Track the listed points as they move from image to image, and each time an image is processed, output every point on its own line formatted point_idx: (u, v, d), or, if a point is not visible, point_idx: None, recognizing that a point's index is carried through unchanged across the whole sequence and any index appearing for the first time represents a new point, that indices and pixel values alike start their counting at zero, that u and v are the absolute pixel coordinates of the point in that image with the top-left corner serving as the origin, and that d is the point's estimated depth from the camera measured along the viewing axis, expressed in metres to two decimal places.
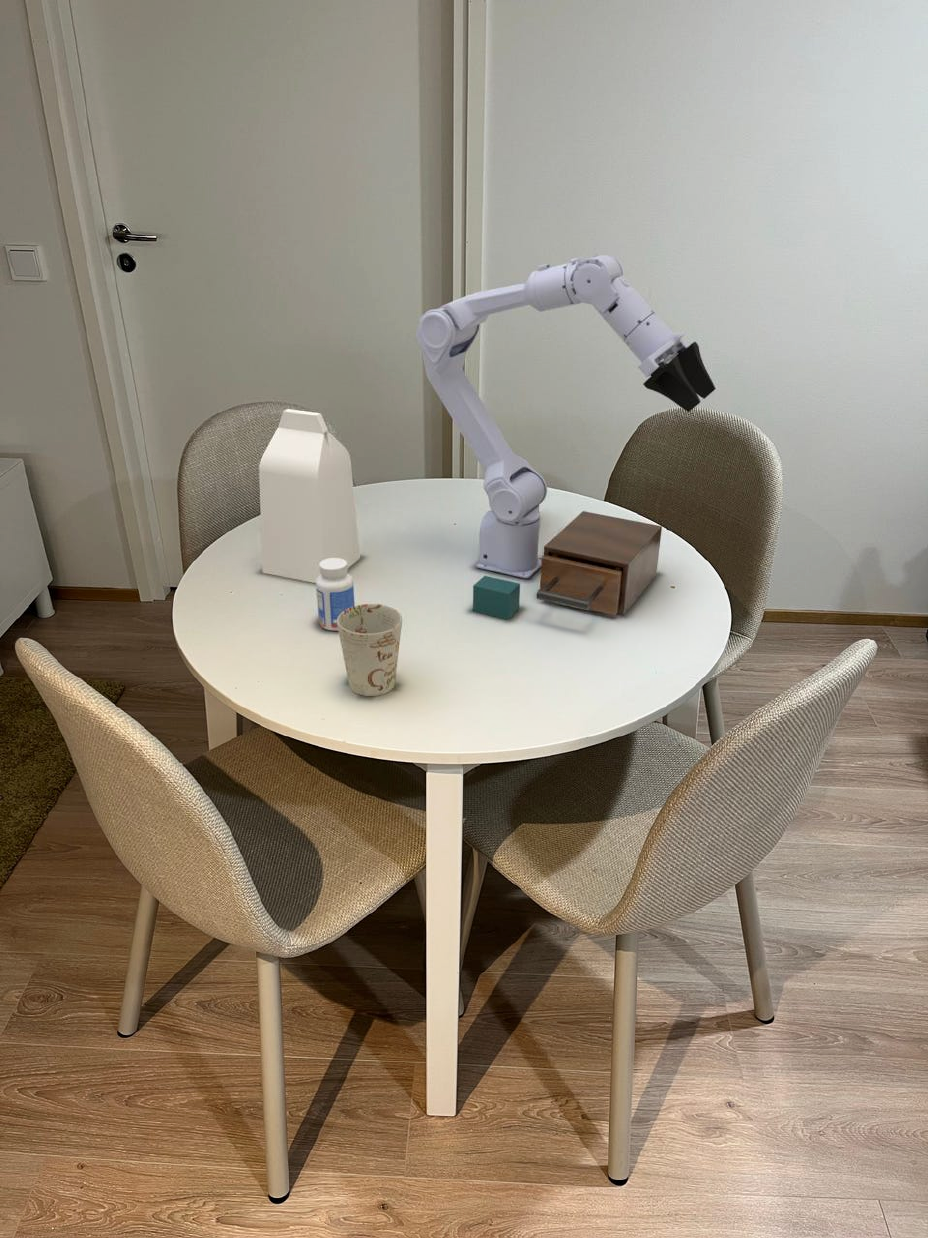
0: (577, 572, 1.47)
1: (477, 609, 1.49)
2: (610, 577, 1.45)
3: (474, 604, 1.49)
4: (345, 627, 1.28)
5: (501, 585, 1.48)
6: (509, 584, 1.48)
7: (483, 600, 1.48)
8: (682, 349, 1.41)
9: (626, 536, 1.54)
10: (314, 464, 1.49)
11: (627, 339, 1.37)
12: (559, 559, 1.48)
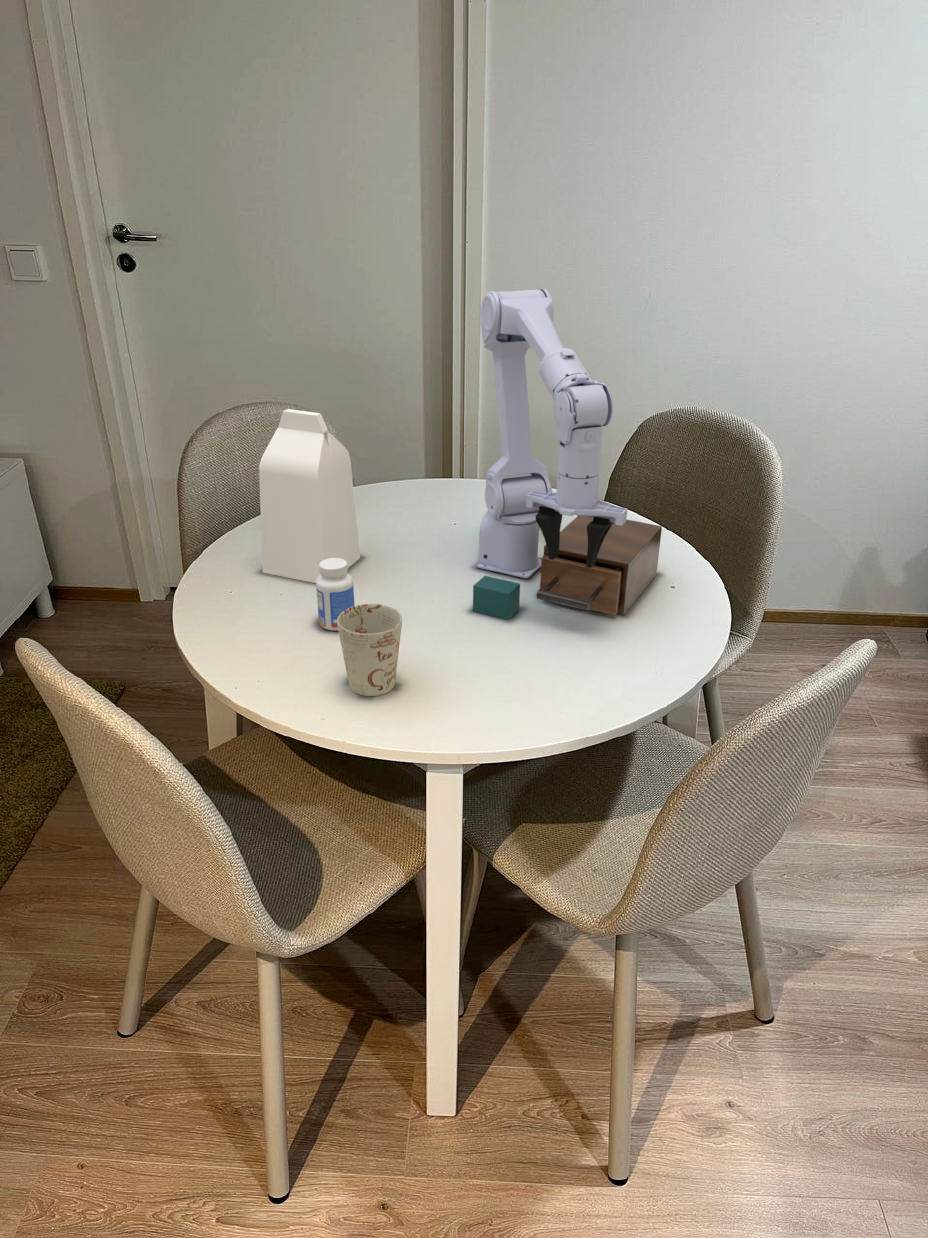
0: (577, 572, 1.47)
1: (477, 609, 1.49)
2: (610, 577, 1.45)
3: (474, 604, 1.49)
4: (345, 627, 1.28)
5: (501, 585, 1.48)
6: (509, 584, 1.48)
7: (483, 600, 1.48)
8: (605, 521, 1.36)
9: (626, 536, 1.54)
10: (314, 464, 1.49)
11: None
12: (559, 559, 1.48)
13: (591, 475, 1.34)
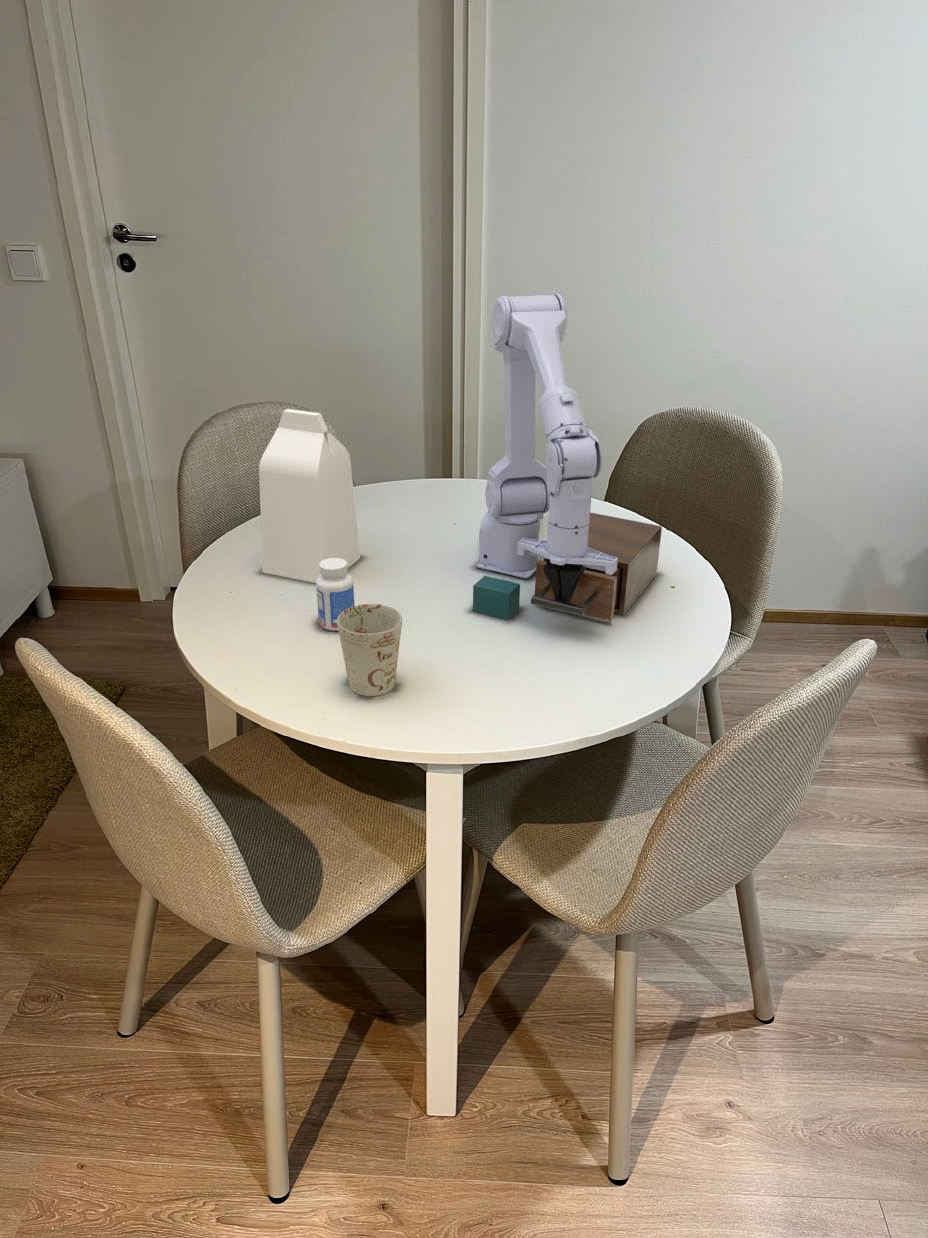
0: None
1: (477, 609, 1.49)
2: (606, 582, 1.43)
3: (474, 604, 1.49)
4: (345, 627, 1.28)
5: (501, 585, 1.48)
6: (509, 584, 1.48)
7: (483, 600, 1.48)
8: None
9: (626, 536, 1.54)
10: (314, 464, 1.49)
11: None
12: None
13: (580, 525, 1.35)
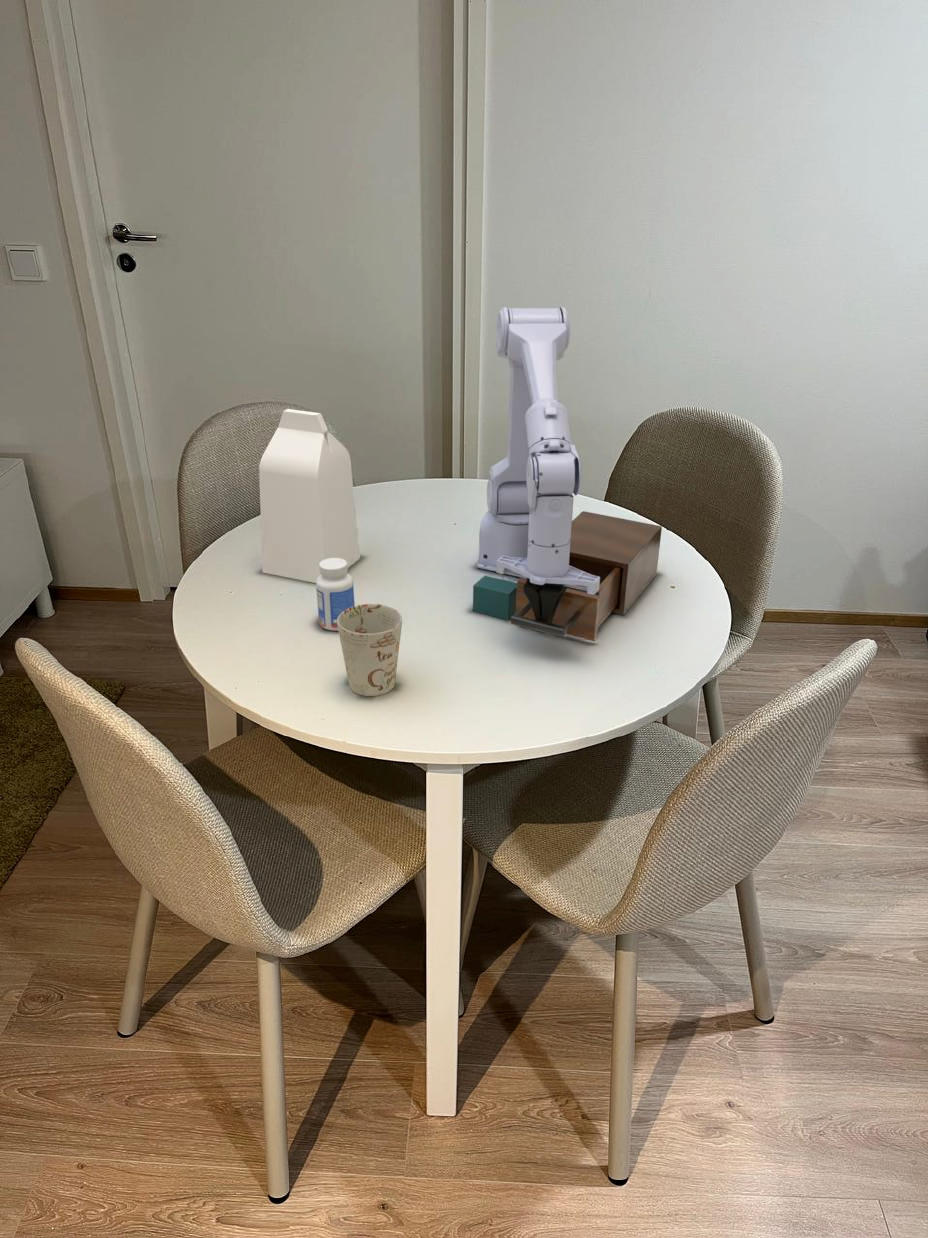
0: None
1: (477, 609, 1.49)
2: (588, 601, 1.38)
3: (474, 604, 1.49)
4: (345, 627, 1.28)
5: (501, 585, 1.48)
6: (509, 584, 1.48)
7: (483, 600, 1.48)
8: None
9: (626, 536, 1.54)
10: (314, 464, 1.49)
11: None
12: None
13: (557, 544, 1.29)
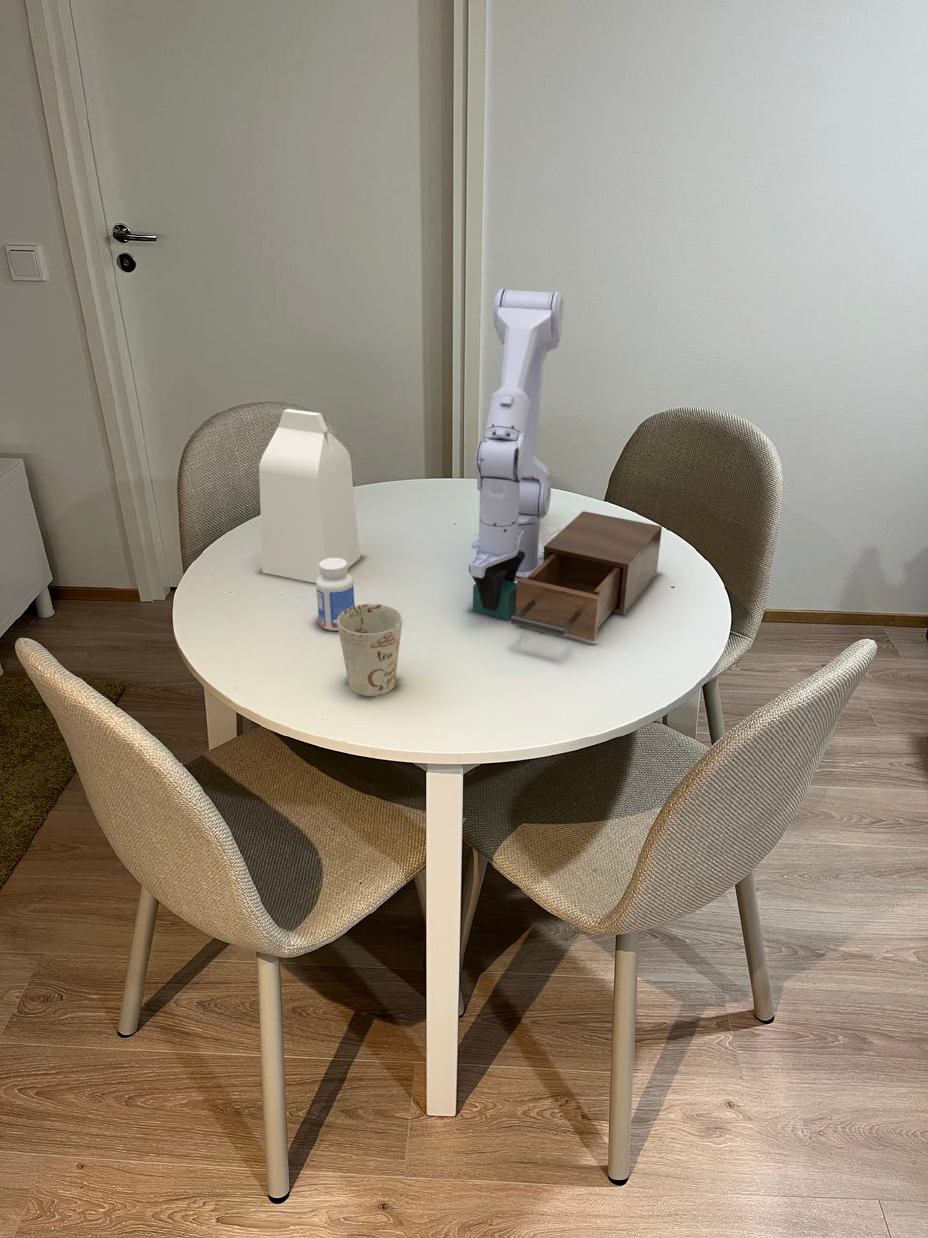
0: (554, 596, 1.40)
1: (477, 609, 1.49)
2: (588, 601, 1.38)
3: (474, 604, 1.49)
4: (345, 627, 1.28)
5: None
6: (509, 584, 1.48)
7: None
8: None
9: (626, 536, 1.54)
10: (314, 464, 1.49)
11: None
12: (535, 582, 1.41)
13: (499, 524, 1.40)
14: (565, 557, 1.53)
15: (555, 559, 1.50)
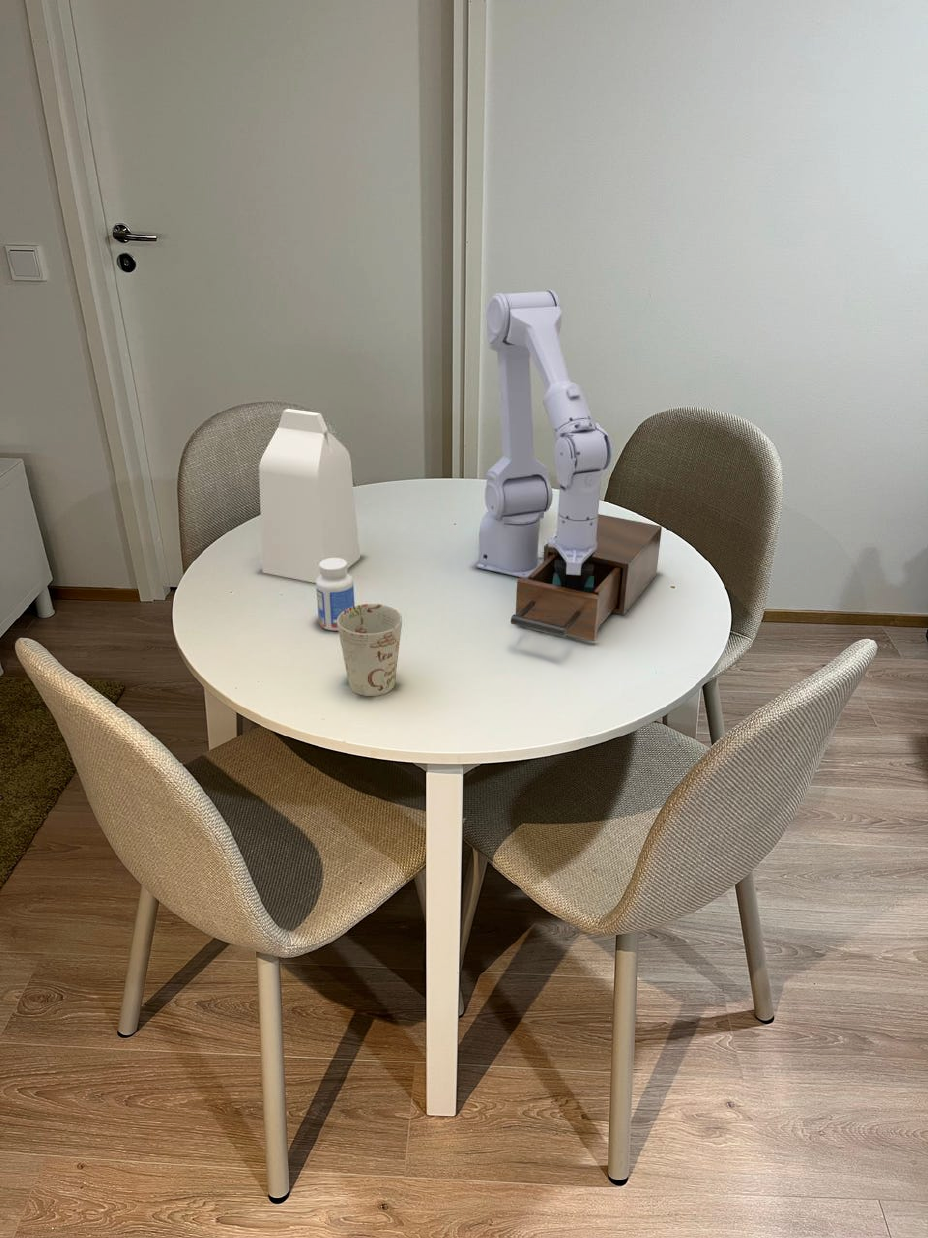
0: (554, 596, 1.40)
1: None
2: (588, 601, 1.38)
3: None
4: (345, 627, 1.28)
5: None
6: None
7: None
8: None
9: (626, 536, 1.54)
10: (314, 464, 1.49)
11: None
12: (535, 582, 1.41)
13: (591, 517, 1.38)
14: None
15: (555, 559, 1.50)
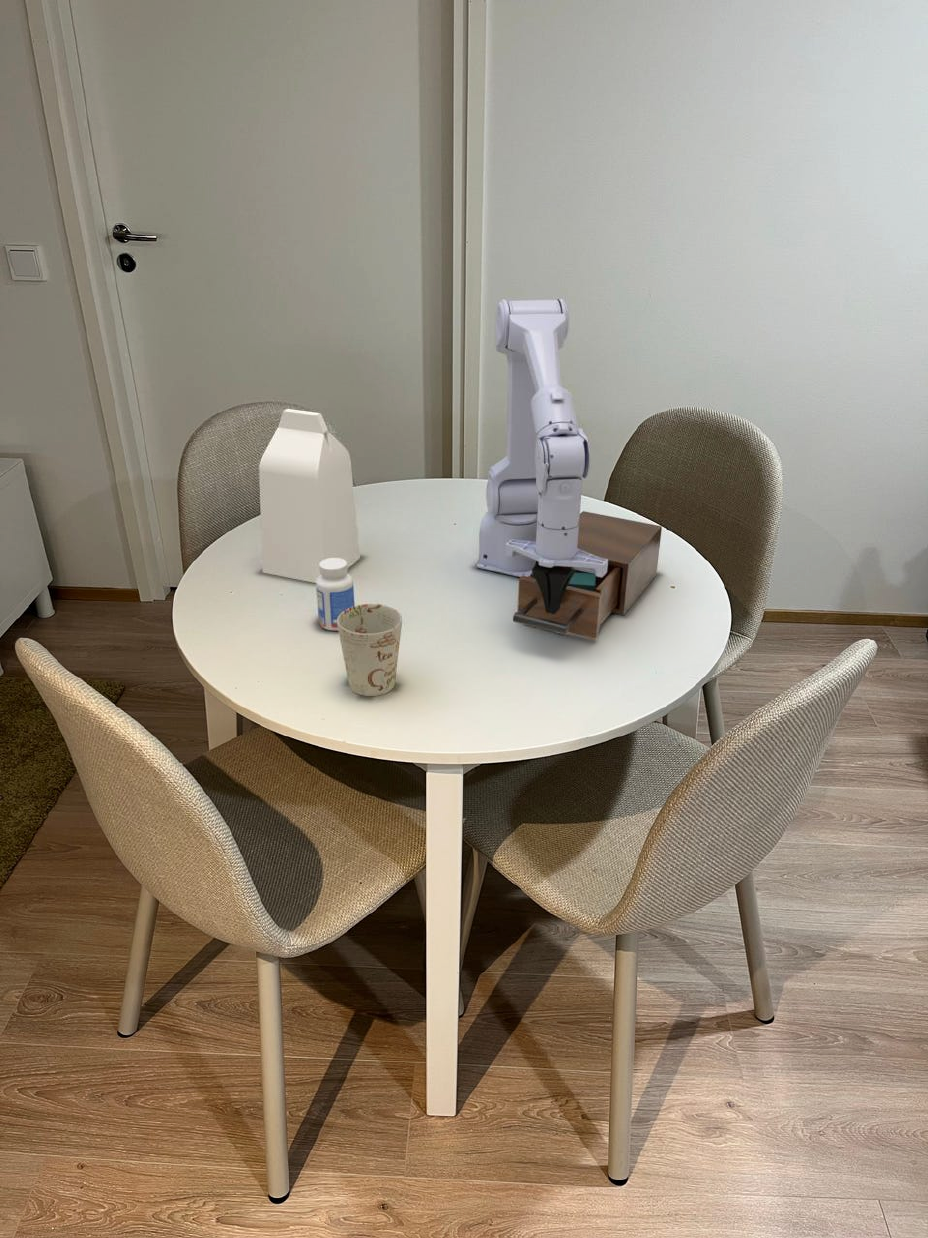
0: None
1: None
2: (590, 599, 1.38)
3: None
4: (345, 627, 1.28)
5: (580, 578, 1.45)
6: (586, 576, 1.46)
7: None
8: None
9: (626, 536, 1.54)
10: (314, 464, 1.49)
11: None
12: None
13: (567, 527, 1.31)
14: None
15: None
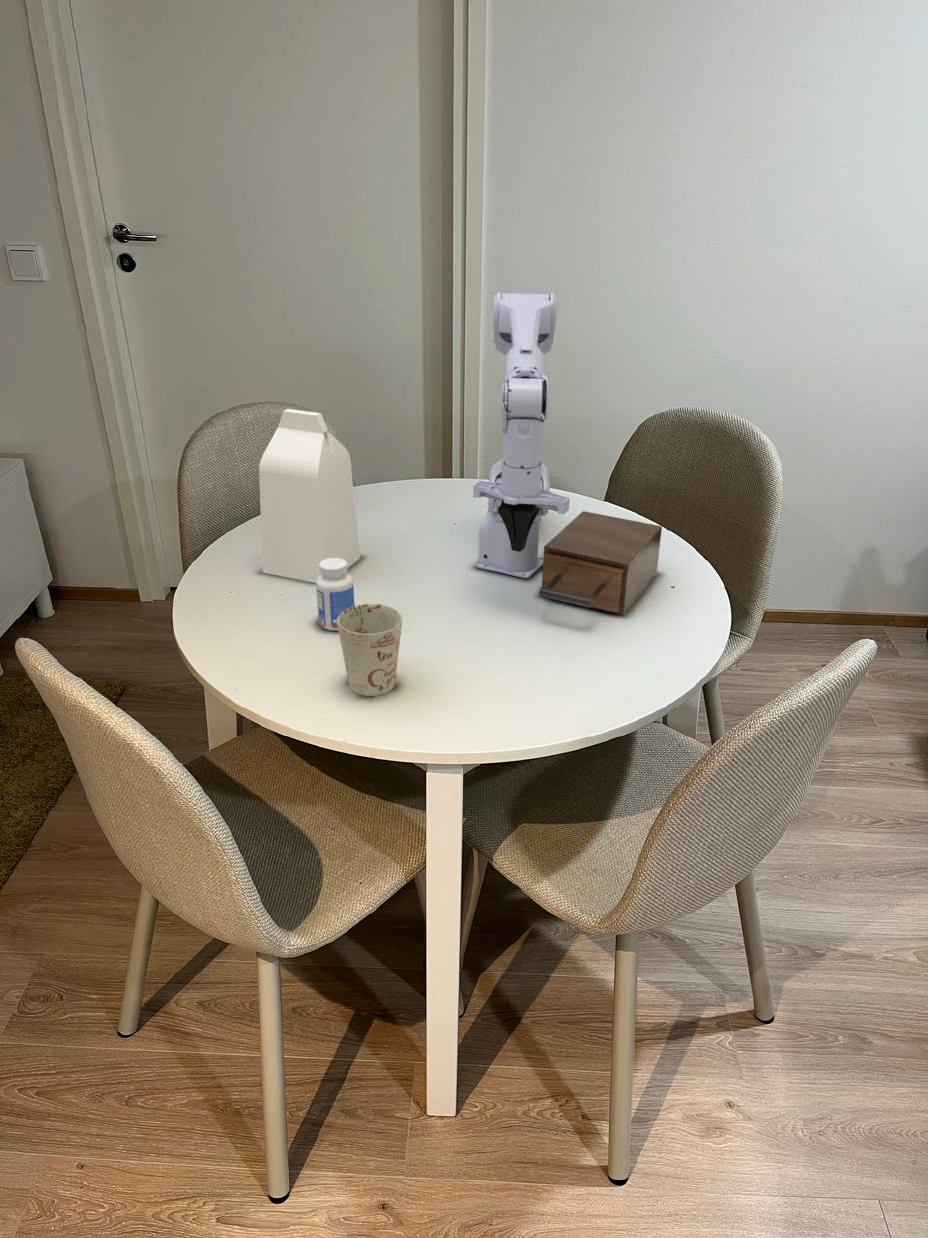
0: (579, 570, 1.48)
1: None
2: (613, 574, 1.45)
3: None
4: (345, 627, 1.28)
5: None
6: None
7: None
8: (548, 510, 1.41)
9: (626, 536, 1.54)
10: (314, 464, 1.49)
11: None
12: (561, 556, 1.49)
13: (526, 466, 1.38)
14: None
15: None
